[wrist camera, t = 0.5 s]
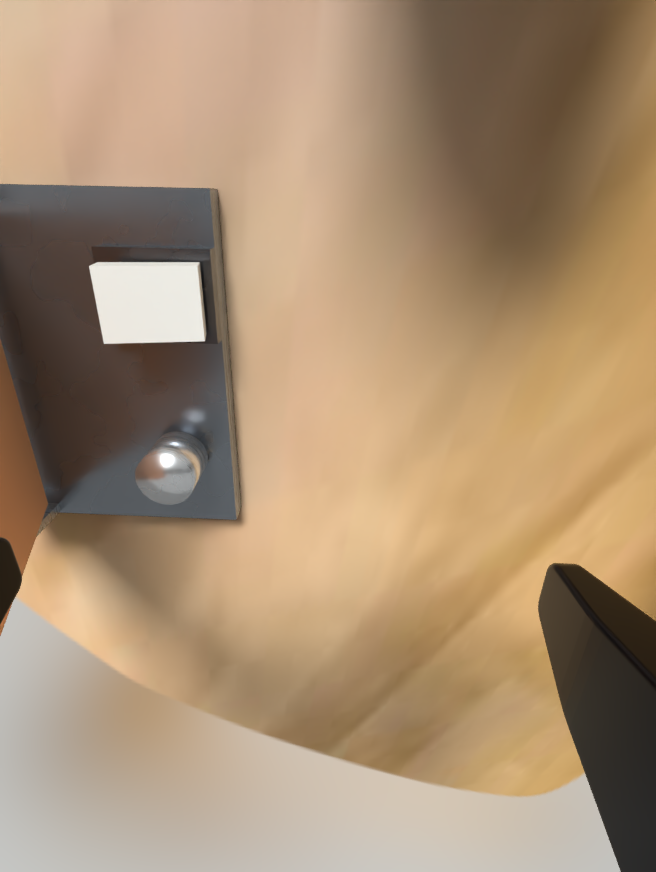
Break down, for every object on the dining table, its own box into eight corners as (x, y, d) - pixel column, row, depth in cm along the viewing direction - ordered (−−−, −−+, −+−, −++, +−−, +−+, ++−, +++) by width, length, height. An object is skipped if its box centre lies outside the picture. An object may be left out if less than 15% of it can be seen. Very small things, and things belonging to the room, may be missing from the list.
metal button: (205, 431, 19) (190, 455, 17) (210, 478, 20) (196, 505, 18) (151, 429, 19) (130, 453, 17) (158, 476, 20) (139, 503, 18)
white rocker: (199, 261, 16) (197, 266, 15) (206, 333, 17) (205, 341, 16) (97, 262, 15) (88, 266, 14) (111, 335, 16) (103, 343, 16)
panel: (217, 189, 16) (191, 186, 14) (241, 507, 22) (226, 548, 20) (-93, 182, 17) (-178, 179, 14) (11, 497, 23) (-36, 537, 20)
